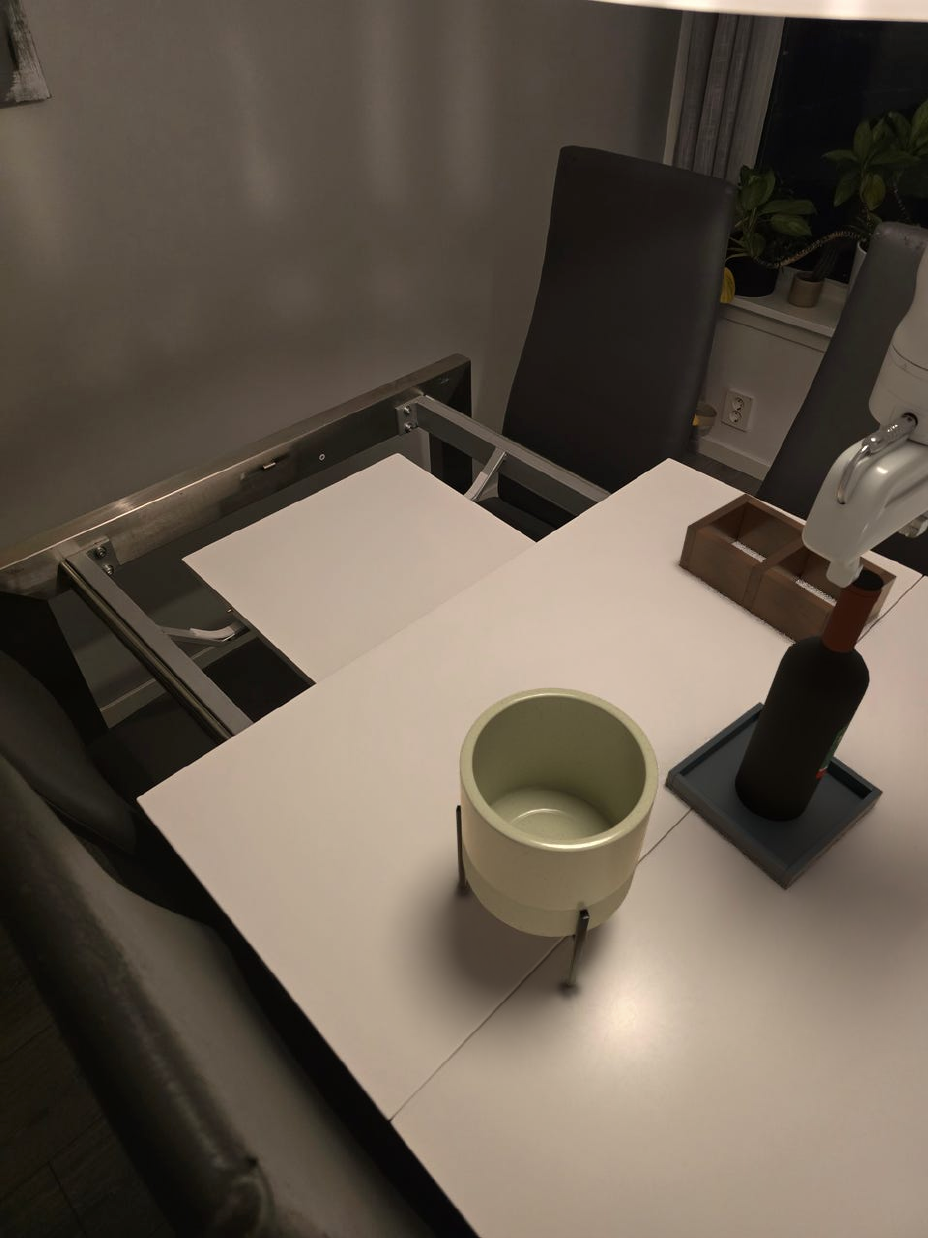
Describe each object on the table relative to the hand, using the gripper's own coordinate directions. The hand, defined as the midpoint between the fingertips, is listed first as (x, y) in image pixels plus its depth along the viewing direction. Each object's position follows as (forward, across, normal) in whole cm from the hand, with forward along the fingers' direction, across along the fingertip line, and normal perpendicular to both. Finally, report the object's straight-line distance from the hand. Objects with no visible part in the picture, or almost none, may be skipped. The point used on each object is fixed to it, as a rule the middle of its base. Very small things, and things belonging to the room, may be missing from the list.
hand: (875, 555), depth 61 cm
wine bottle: (+33, 0, 0) cm, 33 cm away
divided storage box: (+33, +28, +20) cm, 48 cm away
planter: (+33, -27, +6) cm, 43 cm away
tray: (+33, 0, 0) cm, 33 cm away
